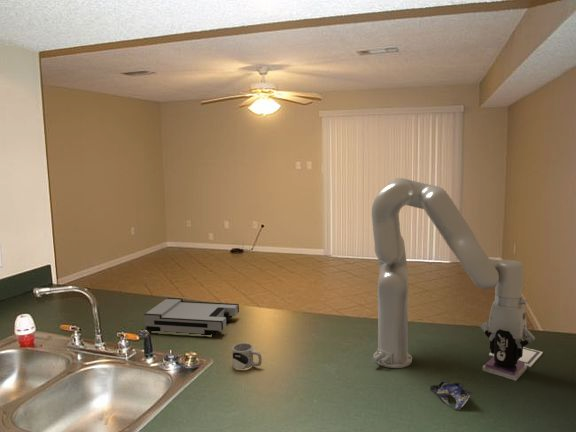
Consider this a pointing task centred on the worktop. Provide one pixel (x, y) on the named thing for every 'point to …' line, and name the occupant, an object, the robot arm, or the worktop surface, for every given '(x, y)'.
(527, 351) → the marked card
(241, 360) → the mug
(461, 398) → the snack package
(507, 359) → the beverage can
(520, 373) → the ink pad
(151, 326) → the game console
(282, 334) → the worktop surface
